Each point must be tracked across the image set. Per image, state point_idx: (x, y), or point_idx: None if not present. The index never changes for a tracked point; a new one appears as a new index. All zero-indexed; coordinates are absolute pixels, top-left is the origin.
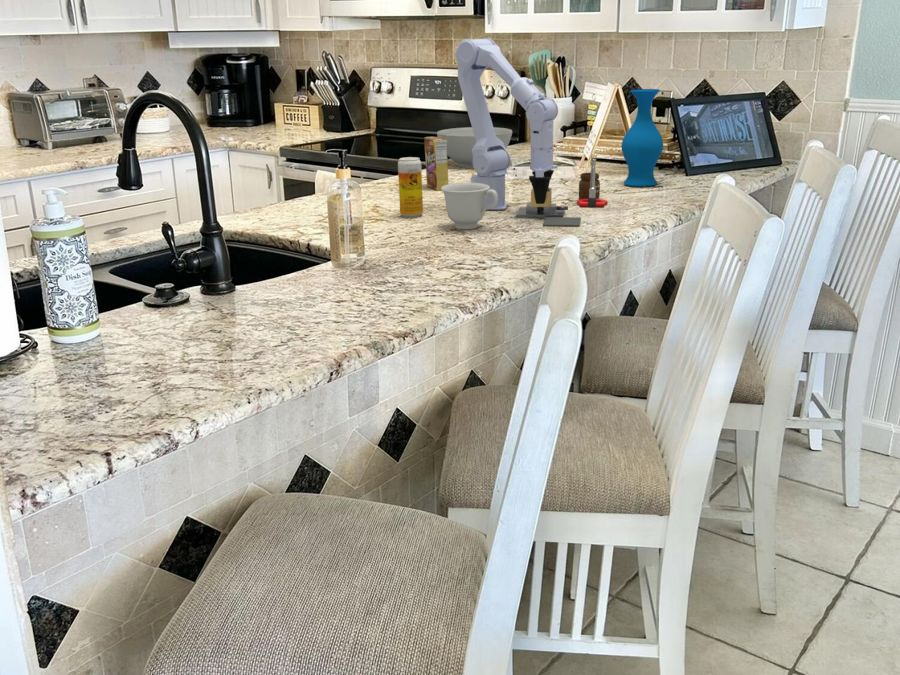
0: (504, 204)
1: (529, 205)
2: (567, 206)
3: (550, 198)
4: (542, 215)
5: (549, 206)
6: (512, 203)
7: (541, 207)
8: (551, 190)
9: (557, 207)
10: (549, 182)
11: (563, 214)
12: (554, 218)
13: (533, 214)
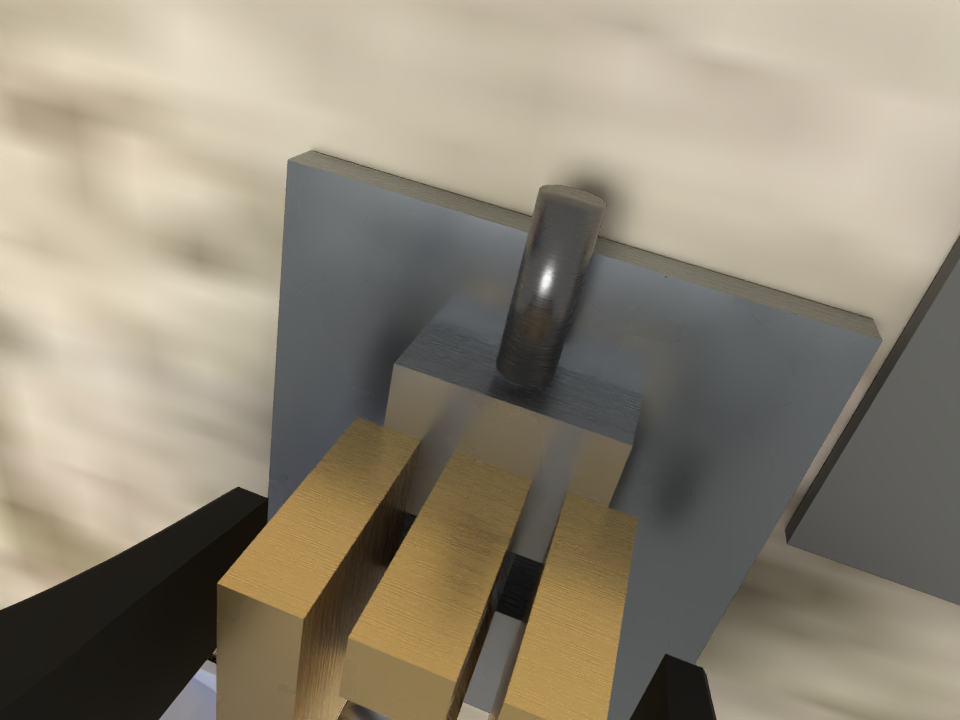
0: (186, 689)
1: (477, 681)
2: (571, 218)
3: (552, 584)
4: (746, 573)
5: (635, 530)
6: (16, 548)
7: (513, 558)
8: (264, 559)
9: (552, 371)
10: (24, 635)
11: (743, 292)
12: (955, 478)
13: (679, 646)
